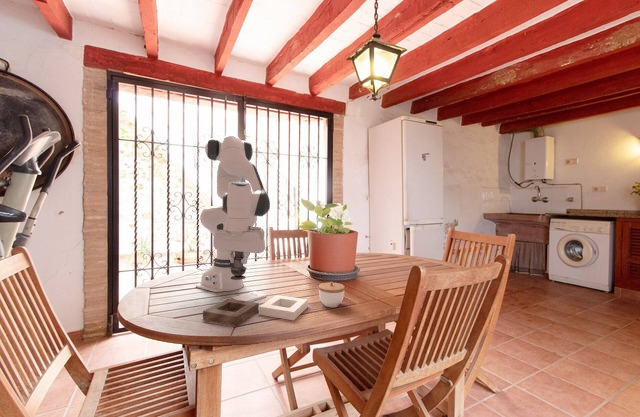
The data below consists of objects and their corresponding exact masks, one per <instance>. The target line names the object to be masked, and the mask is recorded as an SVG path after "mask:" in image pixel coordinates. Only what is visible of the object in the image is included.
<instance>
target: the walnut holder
mask: <svg viewBox="0 0 640 417" xmlns="http://www.w3.org/2000/svg"><path fill="white" fill-rule="evenodd" d="M259 303H260V302H254V301H252V302H248V301H241V300H235V299H231V298H226V299H224V300H222V301H220V302H218V303H216V304H214V305H212V306H210V307H208V308H206V309H203V311H202V320H203V321H205V320H206V321H208V322H215V323H220V324H221V323H222V324H224V325H225V324H226V325H231V326H235V327H237V326H239V325H240V324H242V323H243V322H245V321H246V320H247V319H249V318H251V317H252V316H254V315H255V314H257V313H259V305H260V304H259Z"/></svg>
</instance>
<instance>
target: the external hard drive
mask: <svg viewBox="0 0 640 417" xmlns="http://www.w3.org/2000/svg"><path fill="white" fill-rule="evenodd" d="M264 298H267V294H265V293H263V292H259V291H256V290H254V291H250V292H247V293H243V294H239V295H236V296H232V297H230V299H235V300H241V301H248V302H254V301H258V300H261V299H264Z"/></svg>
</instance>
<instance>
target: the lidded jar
mask: <svg viewBox="0 0 640 417" xmlns="http://www.w3.org/2000/svg"><path fill="white" fill-rule="evenodd" d="M345 289H346V287H345V285H344V284H342V283H339V282H333V281H330V282H322V283H320V284H319V285H318V296H319V300H320V301H321V303H322V304H323V305H324V307H327V308H337V307H339V305H340V304H341V303H342V302H343V300H344V296H345Z"/></svg>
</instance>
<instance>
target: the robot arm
mask: <svg viewBox="0 0 640 417" xmlns="http://www.w3.org/2000/svg"><path fill="white" fill-rule="evenodd" d="M204 148H205V149H204V150H205V154H206V157H207V158H208V159H209V160H211V161H215V162H216V161H217V162H218V161H220V162H219V163H218V166H217V172H216V195H217V196H218V197H219V198H220V200H221V201H222V204H221V205H213V206H207V207H204V208H203V209H202V211H201V212H200V217H199V219H200V223H201V225H202V226H203V228H205V229H207V230H208V231H209V232H210V233H211V234H212V236H213V244H212V245H213V248H214V249H215V250H216V257H215V258H214V259H212V260H211V262H212V264H213V265H212V266H211V267H209V268H208V269H207V270H205V271H204V272H203V273H202V276H201V279H200V280H201V281H198V283H196V284H195V288H198V289H202V290H205V291H206V290H207V291H209V292H213V293H221V292H227V291H228V292H230V291H235V290H239V289H240V290H241V289H242V288H244V286H245V285H244V282H243V279H241V280H233V279H231V277H232V276H235V275H233V274H232V273H231V270H230V268H231V267H233V266H234V257H235V251H239V252H243V257H244V258H243V259H241V264H243V265H247V264H248V259H249V258H250V255H251V254H262V253H264V251H265V250H266V243H265V230H264V229H263V228H262V227H261V226H254V225H255V224H256V222H257V219H258V217H263V216H265V215H266V214H267V213H268V212H269V211H270V208H271V201H270V198H269V195H268V193H267V191H266V190H265V187H264V184H263V182H262V179H261V177H260V174H259V171H258V169H257V167H256V166H255V164H253V163H252V162H251V161H252V157H253V153H254V148H253V145H252V144H251V142H249V141H247V140H242V139H241V138H240V137H239V136H236V135H234V134H228V135H225V136H224V137H223V138H216V137H212V138H209V139H208V140H207V142H206V143H205V147H204ZM241 179H242V180H245V181H241ZM246 181H247V182H246Z"/></svg>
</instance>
